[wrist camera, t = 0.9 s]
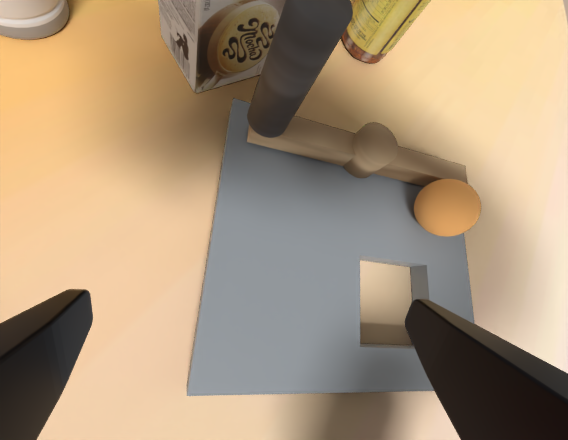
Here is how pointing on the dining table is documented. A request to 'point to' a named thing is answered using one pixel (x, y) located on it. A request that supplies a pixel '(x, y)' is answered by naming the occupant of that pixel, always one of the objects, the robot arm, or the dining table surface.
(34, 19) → the travel mug
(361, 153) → the lever
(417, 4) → the sauce bottle
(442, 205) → the ball
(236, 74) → the coffee box
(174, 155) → the dining table surface
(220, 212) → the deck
